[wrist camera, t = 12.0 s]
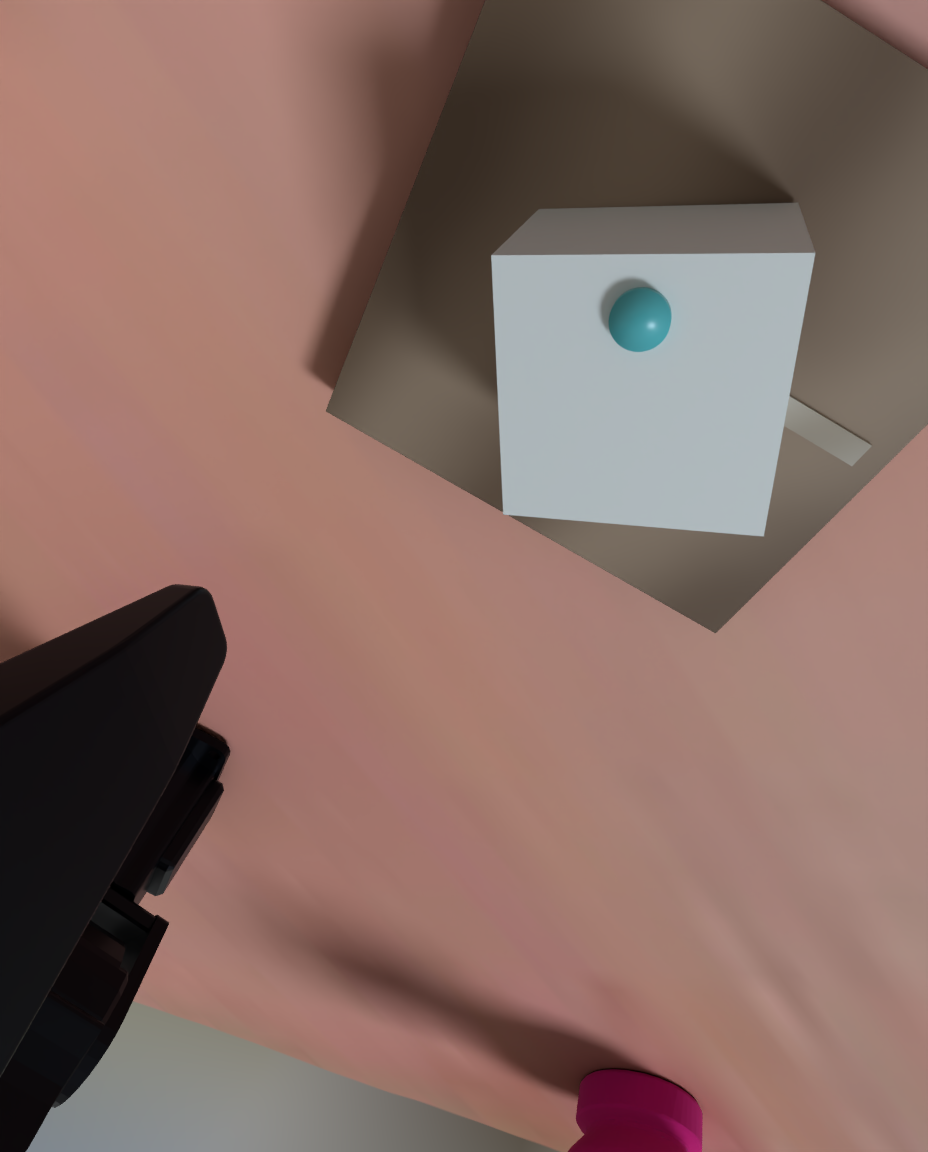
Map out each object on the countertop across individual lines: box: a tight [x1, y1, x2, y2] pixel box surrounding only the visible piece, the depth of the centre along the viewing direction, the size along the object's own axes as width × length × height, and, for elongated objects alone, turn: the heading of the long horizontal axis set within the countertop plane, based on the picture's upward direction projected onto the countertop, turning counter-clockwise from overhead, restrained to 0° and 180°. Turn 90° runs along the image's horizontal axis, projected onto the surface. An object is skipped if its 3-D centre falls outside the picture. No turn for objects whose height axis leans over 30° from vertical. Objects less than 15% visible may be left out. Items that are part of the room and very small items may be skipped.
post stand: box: [326, 0, 928, 633], centre depth 16 cm, size 12×12×4 cm
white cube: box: [491, 203, 815, 536], centre depth 15 cm, size 5×5×4 cm
